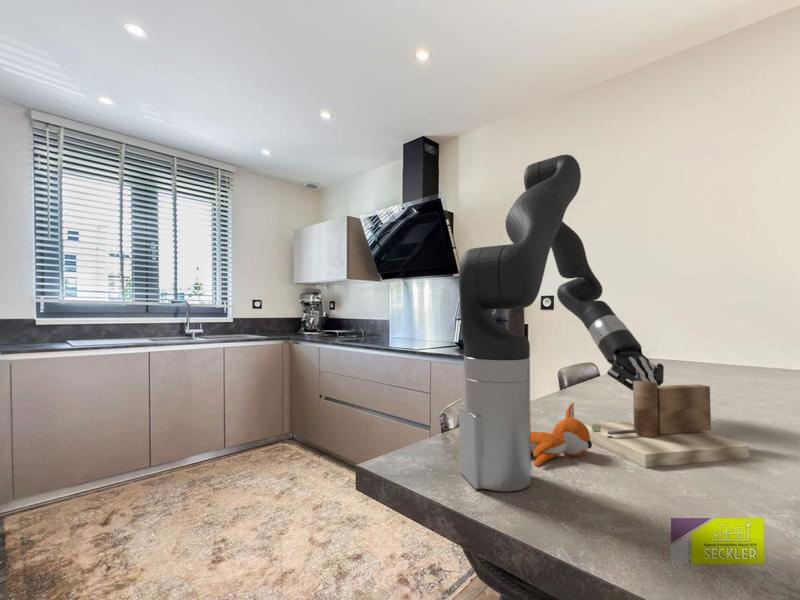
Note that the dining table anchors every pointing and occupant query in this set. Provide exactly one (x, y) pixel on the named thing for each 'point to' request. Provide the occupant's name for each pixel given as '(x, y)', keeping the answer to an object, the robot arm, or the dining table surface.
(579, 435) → the toy
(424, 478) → the dining table surface
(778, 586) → the dining table surface
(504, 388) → the robot arm
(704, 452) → the light wood flat board
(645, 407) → the brown piece
